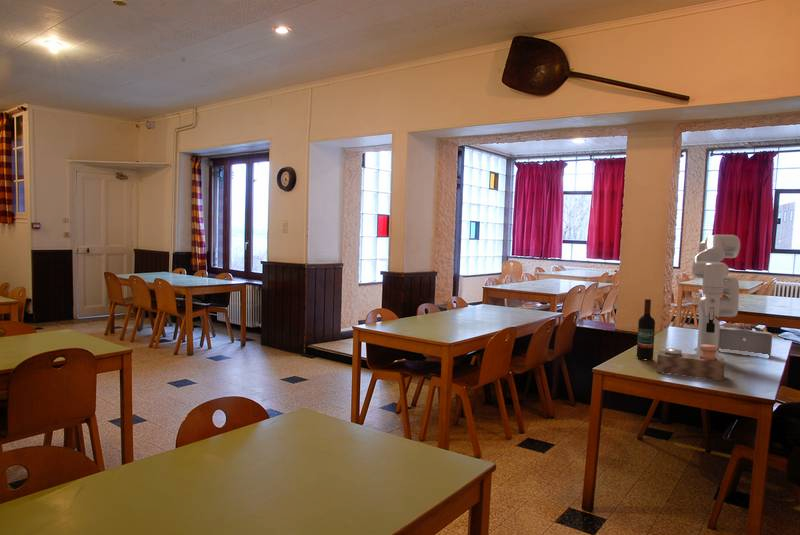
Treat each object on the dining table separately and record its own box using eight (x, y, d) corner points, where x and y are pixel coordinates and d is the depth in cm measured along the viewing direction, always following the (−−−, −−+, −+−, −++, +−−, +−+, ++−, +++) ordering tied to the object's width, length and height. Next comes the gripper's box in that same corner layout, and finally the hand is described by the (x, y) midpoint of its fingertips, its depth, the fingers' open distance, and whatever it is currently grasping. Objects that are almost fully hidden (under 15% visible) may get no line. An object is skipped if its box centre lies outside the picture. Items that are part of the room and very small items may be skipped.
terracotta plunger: (699, 365, 236) (700, 346, 235) (699, 362, 242) (700, 343, 241) (717, 367, 233) (718, 348, 232) (716, 364, 238) (717, 345, 238)
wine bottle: (655, 358, 269) (658, 299, 266) (650, 361, 263) (653, 301, 261) (639, 356, 274) (642, 298, 272) (634, 358, 268) (637, 299, 266)
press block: (656, 372, 242) (657, 354, 242) (658, 367, 252) (659, 350, 251) (723, 381, 230) (724, 362, 229) (722, 375, 239) (723, 357, 239)
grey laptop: (771, 353, 287) (773, 330, 286) (770, 359, 274) (772, 335, 273) (717, 347, 302) (719, 325, 301) (714, 351, 289) (715, 329, 288)
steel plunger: (663, 368, 243) (664, 350, 242) (664, 365, 249) (665, 347, 248) (680, 371, 240) (681, 352, 239) (680, 367, 246) (682, 349, 245)
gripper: (723, 292, 226) (720, 335, 227) (722, 290, 239) (719, 331, 240) (703, 291, 230) (700, 333, 231) (702, 289, 243) (700, 329, 244)
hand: (710, 332), depth 236 cm, fingers closed
